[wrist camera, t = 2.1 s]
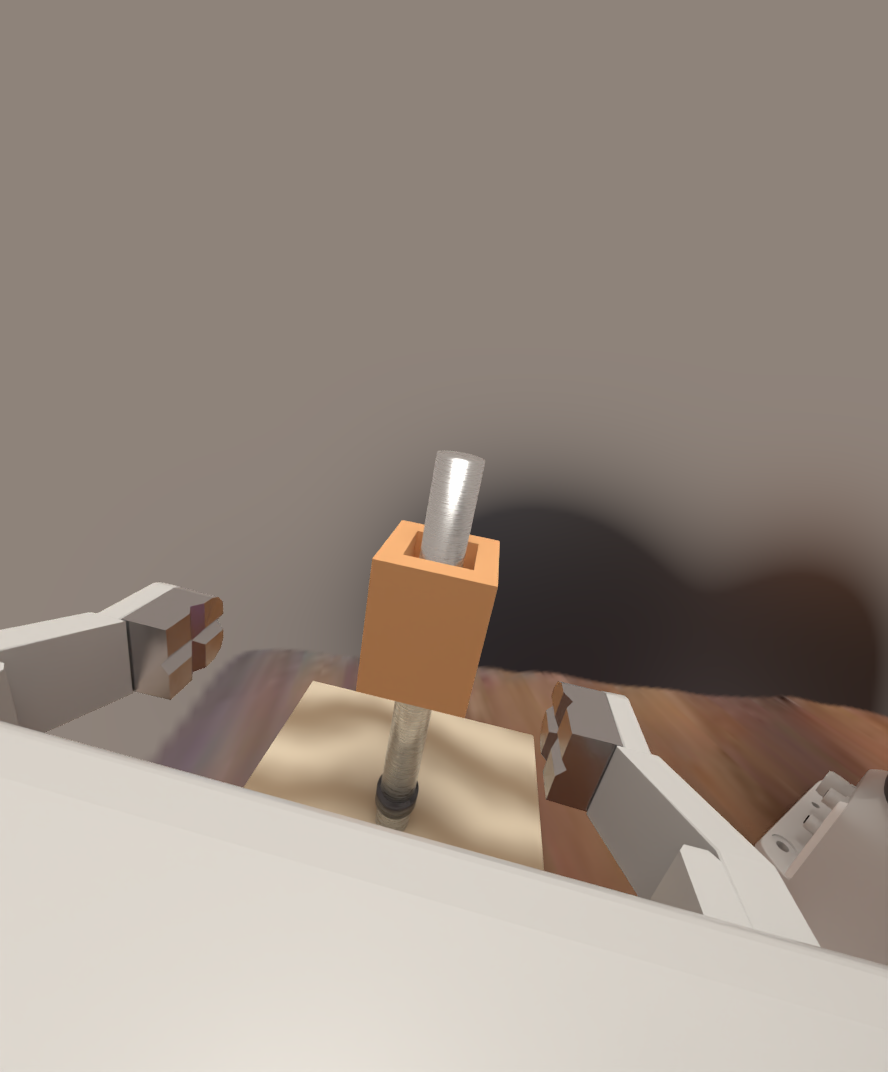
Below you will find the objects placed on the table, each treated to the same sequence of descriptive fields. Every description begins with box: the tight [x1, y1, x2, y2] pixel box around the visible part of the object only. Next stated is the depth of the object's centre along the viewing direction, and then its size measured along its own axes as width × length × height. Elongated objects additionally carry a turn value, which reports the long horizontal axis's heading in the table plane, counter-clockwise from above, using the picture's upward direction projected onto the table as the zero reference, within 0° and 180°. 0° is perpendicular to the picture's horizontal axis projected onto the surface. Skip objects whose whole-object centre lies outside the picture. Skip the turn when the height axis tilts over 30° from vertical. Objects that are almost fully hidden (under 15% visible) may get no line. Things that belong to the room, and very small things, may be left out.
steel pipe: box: [375, 451, 485, 832], centre depth 25 cm, size 3×3×26 cm
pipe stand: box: [244, 681, 544, 871], centre depth 30 cm, size 22×22×2 cm
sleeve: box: [356, 520, 500, 718], centre depth 23 cm, size 6×6×8 cm
